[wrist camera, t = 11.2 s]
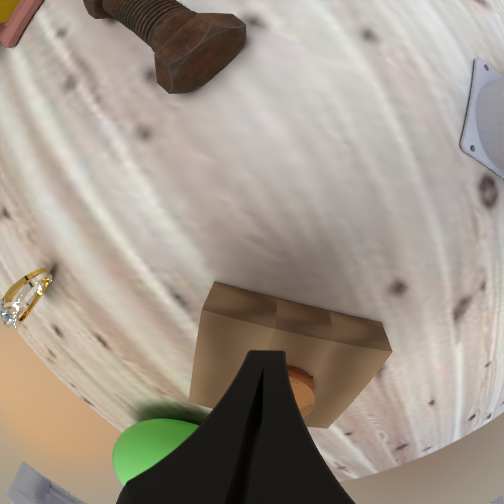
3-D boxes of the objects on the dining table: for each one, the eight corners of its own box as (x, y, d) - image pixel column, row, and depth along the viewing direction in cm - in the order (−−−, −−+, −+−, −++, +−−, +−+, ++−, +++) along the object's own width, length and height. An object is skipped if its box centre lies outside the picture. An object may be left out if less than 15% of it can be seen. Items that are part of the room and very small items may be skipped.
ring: (51, 302, 25) (10, 344, 18) (34, 282, 24) (-9, 320, 17) (68, 272, 22) (17, 319, 15) (49, 248, 22) (-5, 289, 14)
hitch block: (381, 322, 20) (392, 351, 17) (325, 402, 26) (327, 428, 23) (214, 281, 20) (202, 309, 17) (197, 375, 26) (188, 401, 23)
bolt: (121, -17, 12) (235, 67, 15) (70, 13, 11) (173, 108, 14) (116, -62, 6) (257, 11, 9) (54, -30, 6) (172, 53, 9)
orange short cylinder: (314, 336, 21) (318, 384, 17) (310, 378, 23) (311, 422, 19) (245, 336, 22) (236, 383, 17) (250, 377, 24) (243, 421, 20)
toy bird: (194, 388, 27) (155, 505, 14) (273, 446, 32) (263, 534, 19) (113, 404, 33) (76, 478, 20) (186, 454, 38) (167, 520, 25)
